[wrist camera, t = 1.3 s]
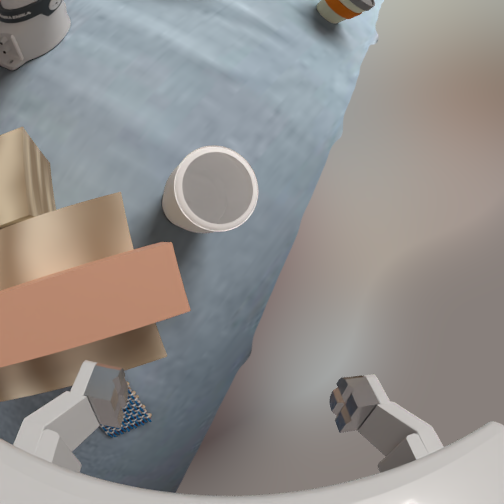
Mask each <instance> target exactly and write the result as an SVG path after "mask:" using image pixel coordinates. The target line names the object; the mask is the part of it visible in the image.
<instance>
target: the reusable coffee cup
mask: <svg viewBox="0 0 504 504" xmlns="http://www.w3.org/2000/svg"><path fill="white" fill-rule="evenodd" d="M373 6H375V2H374V0H321V1H320V2H319V3H318V4H317V10H318V12H319V13H320V14H321V16H322V17H324V18H325V19H326V20H327V21H329V22H331V23H334V24H337V23H339V22H341V21H343V20H346V19H351V18H353V17H355V16H357V15H360V14H361V13H362V12H364V11H368V10H370V9H371V8H372V7H373Z"/></svg>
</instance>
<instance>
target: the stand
mask: <svg viewBox="0 0 504 504" xmlns="http://www.w3.org/2000/svg"><path fill="white" fill-rule="evenodd" d="M130 250H134V249H133V245H132V241H131V237H130V233H129V228H128V224H127V219H126V215H125V210H124V205H123V200H122V195H121V192H118V193H114V194H110V195H107V196H103V197H99V198H95V199H92V200H88V201H85V202H81V203H78V204H74V205H71V206H67V207H64V208H61V209H58V210H54V211H51V212H48V213H45V214H42V215H39V216H36V217H33V218H30V219H27V220H24V221H22V222H19V223H16V224H13V225H11V226H8V227H5V228H3V229H0V291H1V290H4V289H7V288H10V287H13V286H16V285H19V284H22V283H25V282H28V281H31V280H34V279H38V278H41V277H44V276H47V275H50V274H53V273H56V272H60V271H63V270H66V269H69V268H73V267H76V266H79V265H82V264H86V263H89V262H92V261H96V260H99V259H103V258H106V257H109V256H113V255H116V254H120V253H123V252H127V251H130ZM164 357H167V354H166V351H165V349H164V346H163V343H162V341H161V338H160V335H159V332H158V329H157V326H156V323H153V324H149V325H146V326H143V327H140V328H137V329H134V330H131V331H128V332H124V333H121V334H118V335H115V336H111V337H108V338H105V339H102V340H98V341H95V342H92V343H88V344H85V345H81V346H78V347H75V348H71V349H68V350H64V351H61V352H57V353H53V354H50V355H46V356H43V357H39V358H35V359H31V360H28V361H24V362H20V363H16V364H12V365H8V366H4V367H0V402H2V401H7V400H12V399H17V398H22V397H26V396H31V395H35V394H40V393H44V392H48V391H52V390H57V389H61V388H64V387H68V386H72V385H73V384H74V381H75V379H76V377H77V374H78V372H79V370H80V368H81V365H82V363H83V362H84V361H85V360H88V361H92V362H96V363H101V364H105V365H110V366H114V367H119V368H123V369H124V370H127V369H131V368H134V367H137V366H140V365H143V364H146V363H149V362H152V361H155V360H158V359H161V358H164Z"/></svg>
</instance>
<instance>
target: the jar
mask: <svg viewBox="0 0 504 504" xmlns="http://www.w3.org/2000/svg"><path fill="white" fill-rule="evenodd" d="M257 199H258V183H257V179H256V176H255V173H254V171H253V169H252V167H251V166H250V164H249V163H248V162H247V161H246V160H245V159H244V158H243V157H242V156H241V155H240V154H238V153H237V152H235V151H233V150H231V149H229V148H226V147H222V146H205V147H201V148H199V149H196V150H194V151H193V152H191V153H190V154H189V155H187V156H186V157H185V158H184V159H183V161H182V162H181V164H180V165H179V166H177V167H176V168H175V169H174V171H173V172H172V173H171V175H170V176H169V178H168V180H167V182H166V185H165V189H164V195H163V199H162V206H163V211H164V213H165V215H166V217H167V218H168V219H169V220H170V221H171V222H172V223H173V224H175V225H176V226H179V227H181V228H183V229H185V230H188V231H191V232H195V233H211V232H222V231H228V230H231V229H234V228H236V227H238V226H240V225H241V224H243V223H244V222H245V221H246V220H247V219H248V218H249V217H250V216H251V214H252V213H253V211H254V209H255V206H256V203H257Z"/></svg>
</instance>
